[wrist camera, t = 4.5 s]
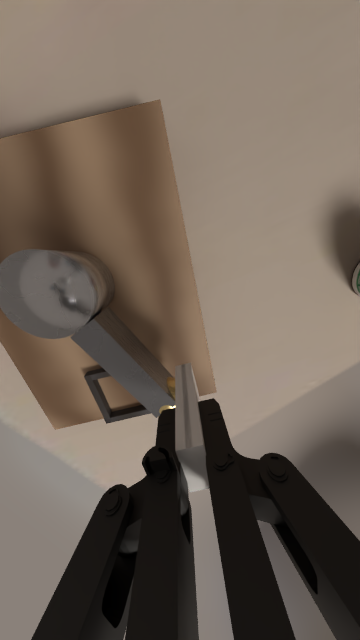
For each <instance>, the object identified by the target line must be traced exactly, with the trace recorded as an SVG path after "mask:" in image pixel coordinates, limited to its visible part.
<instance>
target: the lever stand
mask: <svg viewBox="0 0 360 640" xmlns="http://www.w3.org/2000/svg"><path fill="white" fill-rule="evenodd" d="M28 249H38V250H56V251H74V252H84V253H88V254H91V255H93V256H95V257H97V258H98V259H100V260H101V261H102V262H103V263H104V264H105V265H106V266H107V267H108V269H109V270H110V272H111V274H112V276H113V279H114V284H115V292H114V296H113V299H112V301H111V303H110V304H109V305H108V306H109V307H110V308H111V310H112V311H113V312H114V313H115V314H116V315H117V316H118V317H119V318H120V319H121V320H122V321H123V323H124V324H125V325H126V326H127V327H128V328H129V329H130V330H131V331H132V332H133V333H134V335H135V336H136V337H137V338H138V339H139V340H140V341H141V342H142V343H143V344H144V345H145V346H146V348H147V349H148V350H149V351H150V352H151V353H152V354H153V355H154V356H155V357H156V358H157V359H158V361H159V362H160V363H161V364H162V365H163V366H164V367H165V368H166V369H167V370H168V371H169V372H170V374H171V375H172V376H173V377H174V378H175V366H178V365H183V364H187V363H191V366H192V370H193V374H194V377H195V381H196V385H197V389H198V393H199V396H202V395H207V394H211V393H215V392H216V387H215V382H214V376H213V371H212V366H211V361H210V356H209V350H208V345H207V340H206V335H205V330H204V325H203V319H202V314H201V309H200V304H199V299H198V293H197V288H196V283H195V278H194V273H193V268H192V262H191V257H190V252H189V247H188V242H187V236H186V231H185V226H184V221H183V216H182V211H181V205H180V200H179V195H178V190H177V185H176V179H175V174H174V169H173V164H172V159H171V153H170V148H169V143H168V138H167V133H166V128H165V122H164V117H163V112H162V107H161V102H160V100H156V101H152V102H147V103H143V104H139V105H135V106H131V107H127V108H123V109H119V110H115V111H111V112H106V113H102V114H98V115H94V116H90V117H86V118H82V119H78V120H74V121H70V122H65V123H61V124H57V125H53V126H49V127H45V128H41V129H37V130H33V131H29V132H24V133H20V134H16V135H12V136H8V137H4V138H0V264H1V263H2V262H3V260H4V259H6V258H7V257H8V256H10V255H11V254H13V253H15V252H18V251H22V250H28ZM108 306H107V307H108ZM107 307H106V308H107ZM101 312H102V311H101ZM73 335H74V334H73ZM71 336H72V335H71ZM71 336H68V337H65V338H60V339H46V338H41V337H37V336H34V335H31V334H29V333H27V332H25V331H23V330H22V329H20V328H19V327H17V326H16V325H15V324H13V323H12V322H11V321H10V320H9V319H8V318H7V316H6V315H5V314H4V312H3V311H2V310H1V308H0V341H1V343H2V345H3V346H4V348H5V349H6V351H7V353H8V354H9V356H10V358H11V359H12V361H13V362H14V364H15V366H16V367H17V369H18V370H19V372H20V374H21V375H22V377H23V379H24V380H25V382H26V383H27V385H28V387H29V388H30V390H31V391H32V393H33V395H34V396H35V398H36V400H37V401H38V403H39V404H40V406H41V408H42V409H43V411H44V413H45V414H46V416H47V417H48V419H49V421H50V422H51V424H52V425H53V427H54V429H55V430H56V429H60V428H64V427H69V426H73V425H77V424H82V423H86V422H90V421H94V420H99V419H103V418H104V420H105V422H106V424H107V423H111V422H115V421H120V420H124V419H128V418H132V417H137V416H141V415H145V414H150V413H151V412H150V411H149V410H147V409H146V408H145V407H144V406H143V405H142V404H141V403H140V402H139V401H138V400H137V399H136V398H135V397H133V396H132V395H131V394H130V393H129V392H128V391H127V390H126V389H125V388H124V387H123V386H122V385H121V384H119V383H118V382H117V381H116V380H115V379H114V378H113V377H112V376H111V375H110V374H109V373H108V372H107V371H105V370H104V369H103V368H102V367H101V366H100V365H99V364H98V363H97V362H96V361H95V360H94V359H93V358H91V357H90V356H89V355H88V354H87V353H86V352H85V351H84V350H83V349H82V348H81V347H80V346H79V345H77V344H76V343H75V342H74V341H73V340H72V339H71V338H70V337H71Z"/></svg>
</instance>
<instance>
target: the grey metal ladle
mask: <svg viewBox="0 0 360 640" xmlns="http://www.w3.org/2000/svg"><path fill="white" fill-rule="evenodd" d="M114 292H115V284H114V279H113V276H112V274H111V272H110V270H109V269H108V267H107V266H106V265H105V264H104V263H103V262H102V261H101V260H100V259H98V258H97V257H95V256H93V255H91V254H88V253H84V252H74V251H56V250H38V249H28V250H22V251H18V252H15V253H13V254H11V255H10V256H8V257H7V258H6V259H4V260H3V262H2V263H1V264H0V308H1V310H2V311H3V312H4V314H5V315H6V316H7V318H8V319H9V320H10V321H11V322H12V323H13V324H15V325H16V326H17V327H19V328H20V329H22V330H23V331H25V332H27V333H29V334H31V335H34V336H37V337H41V338H46V339H60V338H65V337H68V336H71V335H72V336H71V337H70V338H71V339H72V340H73V341H74V342H75V343H76V344H77V345H79V346H80V347H81V348H82V349H83V350H84V351H85V352H86V353H87V354H88V355H89V356H90V357H91V358H93V359H94V360H95V361H96V362H97V363H98V364H99V365H100V366H101V367H102V368H103V369H104V370H105V371H107V372H108V373H109V374H110V375H111V376H112V377H113V378H114V379H115V380H116V381H117V382H118V383H119V384H121V385H122V386H123V387H124V388H125V389H126V390H127V391H128V392H129V393H130V394H131V395H132V396H133V397H135V398H136V399H137V400H138V401H139V402H140V403H141V404H142V405H143V406H144V407H145V408H146V409H147V410H149V411H150V412H151V413H152V414H153V415H154V416H155V417H156V418H157V417H159V416H160V414H161V412H162V410H166V409H171V408H175V378H174V377H173V376H172V375H171V374H170V372H169V371H168V370H167V369H166V368H165V367H164V366H163V365H162V364H161V363H160V362H159V361H158V359H157V358H156V357H155V356H154V355H153V354H152V353H151V352H150V351H149V350H148V349H147V348H146V346H145V345H144V344H143V343H142V342H141V341H140V340H139V339H138V338H137V337H136V336H135V335H134V333H133V332H132V331H131V330H130V329H129V328H128V327H127V326H126V325H125V324H124V323H123V321H122V320H121V319H120V318H119V317H118V316H117V315H116V314H115V313H114V312H113V311H112V310H111V308H110V307H109V306H108V305H109V304H110V303H111V301H112V299H113V296H114ZM107 306H108V307H107ZM106 307H107V308H106ZM101 311H102V312H101ZM73 334H74V335H73Z"/></svg>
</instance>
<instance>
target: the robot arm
mask: <svg viewBox="0 0 360 640" xmlns="http://www.w3.org/2000/svg"><path fill="white" fill-rule="evenodd" d="M142 465H143V467H144V470H145V472H146V474H147V475H146V476H145V478H143V479H142V480H141V481H139V482H138V483H136V484H134V485H132V486H131V487H129V488H127V487H126V486H125V485H122V484H119V485H115V486H113V487H111V488H110V489H109V490H108V491H107V492H106V493H105V494H104V495H103V496H102V498H101V500H100V501H99V503H98V505H97V507H96V509H95V511H94V513H93V515H92V517H91V519H90V521H89V523H88V525H87V528H86V529H85V531H84V533H83V535H82V538H81V540H80V542H79V544H78V546H77V548H76V550H75V552H74V554H73V556H72V558H71V560H70V562H69V564H68V566H67V568H66V570H65V572H64V574H63V576H62V578H61V580H60V582H59V584H58V586H57V588H56V590H55V592H54V595H53V597H52V599H51V600H50V602H49V604H48V607H47V609H46V611H45V613H44V615H43V617H42V619H41V621H40V623H39V625H38V627H37V629H36V631H35V633H34V635H33V637H32V639H31V640H123V638H124V634H125V630H126V636H125V640H199V636H198V619H197V601H196V584H195V566H194V548H193V531H192V513H191V505H190V501H189V498H188V488H189V491H190V492H194V491H199V490H204V489H209V488H210V494H211V500H212V506H213V513H214V519H215V525H216V531H217V537H218V543H219V550H220V556H221V562H222V568H223V574H224V580H225V587H226V593H227V599H228V605H229V611H230V617H231V624H232V630H233V635H234V640H296V639H295V637H294V633H293V630H292V627H291V624H290V621H289V618H288V615H287V611H286V608H285V605H284V602H283V599H282V596H281V593H280V590H279V587H278V584H277V581H276V578H275V575H274V572H273V569H272V565H271V562H270V559H269V556H268V553H267V550H266V547H265V544H264V541H263V538H262V535H261V532H260V528H259V525H258V522H257V520H260V521H264V522H268V523H270V524H271V525H272V527H273V529H274V531H275V533H276V535H277V536H278V538H279V540H280V542H281V543H282V545H283V547H284V549H285V550H286V552H287V554H288V556H289V557H290V559H291V561H292V563H293V564H294V566H295V568H296V570H297V571H298V573H299V575H300V577H301V578H302V580H303V582H304V584H305V585H306V587H307V589H308V591H309V592H310V594H311V596H312V598H313V599H314V601H315V603H316V605H317V606H318V608H319V610H320V612H321V613H322V615H323V617H324V618H325V620H326V622H327V624H328V626H329V627H330V629H331V631H332V633H333V634H334V636H335V638H336V639H337V640H360V541H359V540H358V539H357V538H356V536H355V535H354V534H353V533H352V532H351V531H350V530H349V528H348V527H347V526H346V525H345V524H344V523H343V521H342V520H341V519H340V518H339V517H338V516H337V515H336V513H335V512H334V511H333V510H332V509H331V508H330V506H329V505H328V504H327V503H326V502H325V501H324V500H323V499H322V497H321V496H320V495H319V494H318V493H317V491H316V490H315V489H314V488H313V487H312V486H311V485H310V483H309V482H308V481H307V480H306V479H305V478H304V477H303V475H302V474H301V473H300V472H299V471H298V470H297V468H296V467H295V466H294V465H293V464H292V463H291V462H290V461H289V460H288V459H287V458H286V457H284V456H282V455H280V454H276V453H268V454H265V455H264V456H263V457H261V458H260V460H257V459H251V458H247V457H244V456H242V455H240V454H239V453H237V452H236V451H235V450H234V448H233V446H232V444H231V441H230V438H229V435H228V431H227V428H226V425H225V422H224V419H223V415H222V412H221V409H220V406H219V403H218V402H217V401H216V400H215V399H214V398H213V399H209V400H204V401H200V399H199V393H198V389H197V385H196V381H195V377H194V374H193V370H192V366H191V363H187V364H183V365H178V366H175V408H171V409H166V410H162V412H161V414H160V416H159V418H158V427H157V436H156V446H154V447H152V448H151V449H150V450H149V451H148V452H147V453H146V454H145V456H144V458H143V461H142ZM126 627H127V629H126Z"/></svg>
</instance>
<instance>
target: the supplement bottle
mask: <svg viewBox="0 0 360 640" xmlns="http://www.w3.org/2000/svg"><path fill="white" fill-rule="evenodd" d="M352 286H353V289H354V291H355V292H356V293H357V294H358V295H359V296H360V263H359V264H358V265H357V267H356V269H355V271H354V274H353V278H352Z"/></svg>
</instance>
